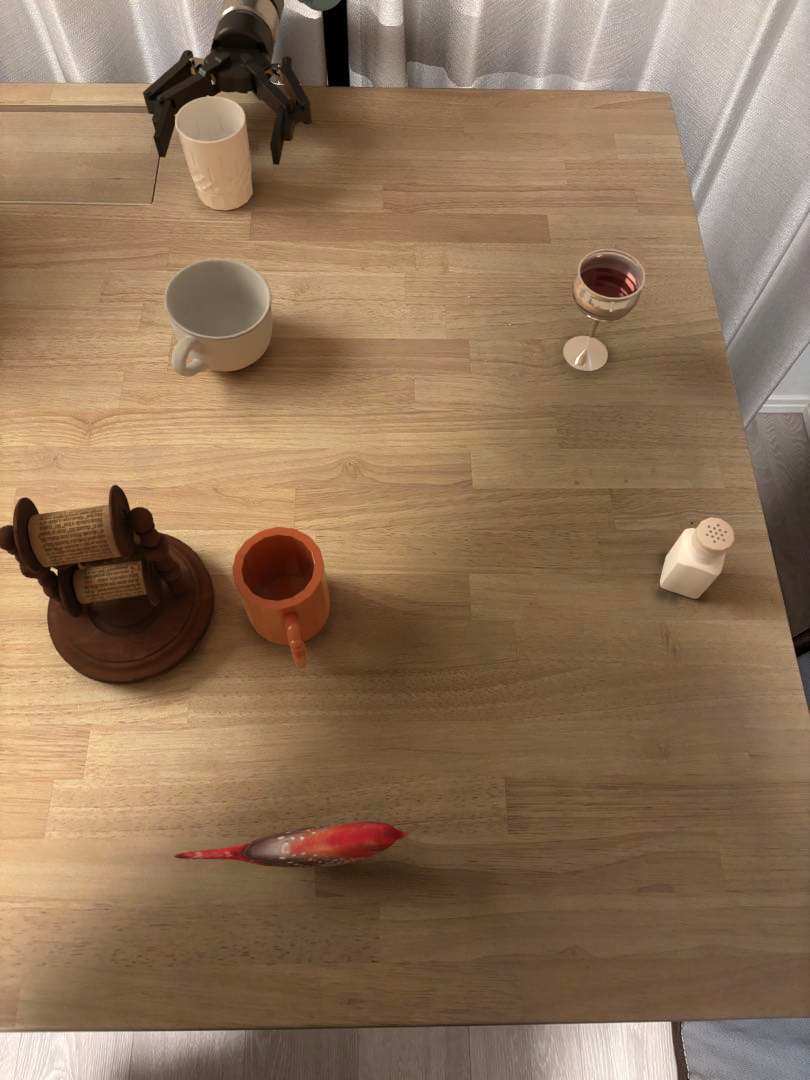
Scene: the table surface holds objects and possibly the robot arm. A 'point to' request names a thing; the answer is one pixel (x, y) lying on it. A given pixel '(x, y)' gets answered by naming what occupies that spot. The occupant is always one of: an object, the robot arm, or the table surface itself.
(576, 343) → the wineglass
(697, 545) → the salt shaker
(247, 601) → the mug
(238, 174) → the white cup
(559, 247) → the table surface
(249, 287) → the teacup
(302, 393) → the table surface
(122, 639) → the scroll
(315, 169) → the table surface
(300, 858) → the decorative bird figurine
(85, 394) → the table surface
